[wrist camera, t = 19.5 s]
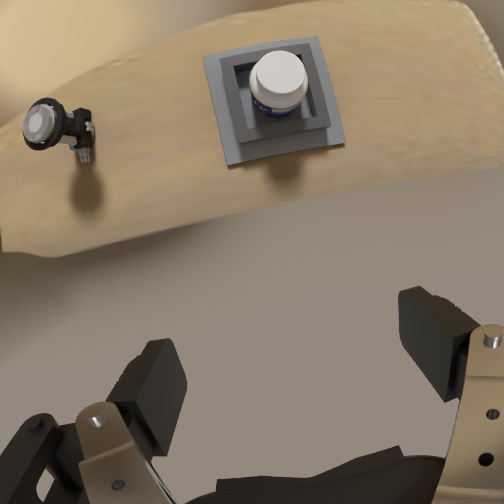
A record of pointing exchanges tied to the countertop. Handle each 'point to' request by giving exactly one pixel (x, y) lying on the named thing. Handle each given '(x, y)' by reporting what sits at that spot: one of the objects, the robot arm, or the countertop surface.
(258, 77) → the pill bottle
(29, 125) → the push button
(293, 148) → the socket
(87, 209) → the countertop surface
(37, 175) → the countertop surface
